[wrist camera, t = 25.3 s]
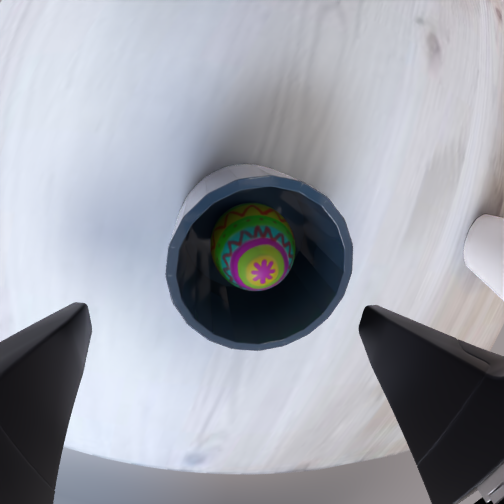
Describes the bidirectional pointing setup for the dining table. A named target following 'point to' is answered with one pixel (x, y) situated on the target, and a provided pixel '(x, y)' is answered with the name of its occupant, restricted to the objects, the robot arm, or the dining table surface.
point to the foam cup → (487, 251)
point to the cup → (271, 300)
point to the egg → (252, 246)
